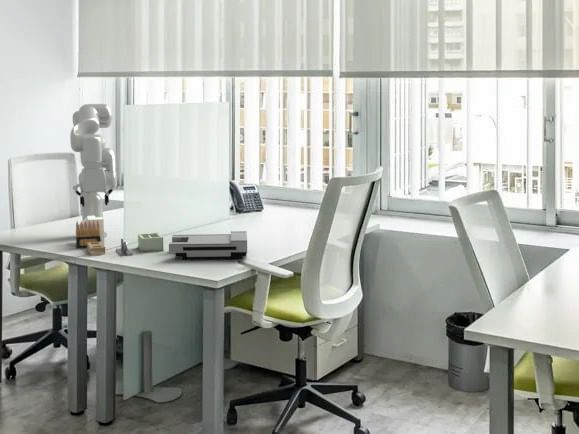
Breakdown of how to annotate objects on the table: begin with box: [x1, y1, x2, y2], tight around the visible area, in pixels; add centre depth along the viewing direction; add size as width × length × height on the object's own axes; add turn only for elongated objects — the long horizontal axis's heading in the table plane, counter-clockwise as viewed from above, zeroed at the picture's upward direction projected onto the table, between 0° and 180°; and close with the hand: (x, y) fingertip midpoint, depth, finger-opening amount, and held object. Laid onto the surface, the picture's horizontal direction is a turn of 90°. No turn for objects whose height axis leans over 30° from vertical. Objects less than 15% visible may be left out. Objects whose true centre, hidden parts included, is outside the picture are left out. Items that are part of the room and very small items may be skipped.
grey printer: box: [168, 230, 248, 261], centre depth 319 cm, size 21×32×8 cm, turn 94°
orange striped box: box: [78, 216, 105, 246], centre depth 340 cm, size 11×11×12 cm
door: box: [86, 242, 106, 256], centre depth 324 cm, size 13×6×3 cm, turn 22°
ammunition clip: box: [75, 220, 101, 249], centre depth 332 cm, size 11×2×12 cm, turn 105°
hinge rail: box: [115, 238, 134, 257], centre depth 322 cm, size 13×5×5 cm, turn 22°
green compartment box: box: [137, 232, 164, 253], centre depth 329 cm, size 11×9×6 cm
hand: (94, 205), depth 320 cm, fingers open, 9 cm apart
